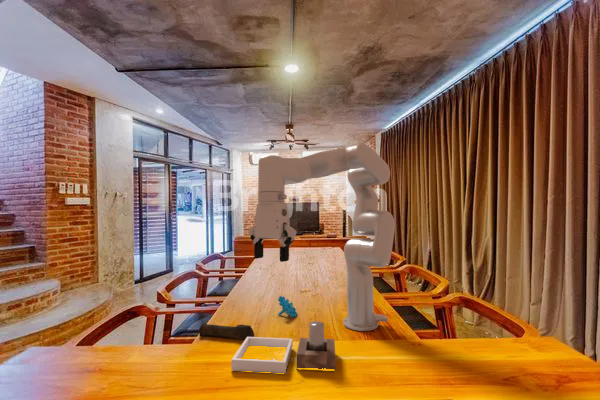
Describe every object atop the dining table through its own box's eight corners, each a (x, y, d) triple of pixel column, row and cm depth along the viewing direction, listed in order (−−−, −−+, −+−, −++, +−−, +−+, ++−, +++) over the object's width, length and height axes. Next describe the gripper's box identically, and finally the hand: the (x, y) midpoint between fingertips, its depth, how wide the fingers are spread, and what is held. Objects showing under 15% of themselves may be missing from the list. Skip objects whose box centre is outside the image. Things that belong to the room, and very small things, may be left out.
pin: (324, 358, 79) (323, 321, 79) (323, 365, 75) (323, 327, 75) (309, 357, 79) (309, 321, 80) (308, 364, 75) (308, 326, 76)
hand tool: (197, 337, 92) (198, 323, 93) (204, 333, 96) (205, 319, 97) (250, 345, 87) (250, 329, 88) (255, 339, 91) (255, 325, 92)
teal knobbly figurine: (293, 317, 106) (277, 296, 110) (282, 327, 107) (266, 306, 110) (301, 312, 116) (286, 293, 120) (291, 321, 117) (277, 302, 120)
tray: (292, 348, 84) (292, 338, 84) (285, 374, 70) (285, 362, 70) (247, 346, 85) (247, 336, 86) (231, 371, 72) (231, 359, 72)
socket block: (334, 353, 81) (334, 339, 82) (335, 372, 71) (335, 356, 72) (300, 351, 82) (300, 337, 83) (296, 370, 72) (296, 354, 73)
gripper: (303, 198, 78) (303, 260, 77) (259, 200, 88) (258, 255, 87) (286, 197, 72) (286, 264, 71) (240, 199, 82) (240, 258, 81)
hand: (271, 259), depth 79 cm, fingers open, 9 cm apart
